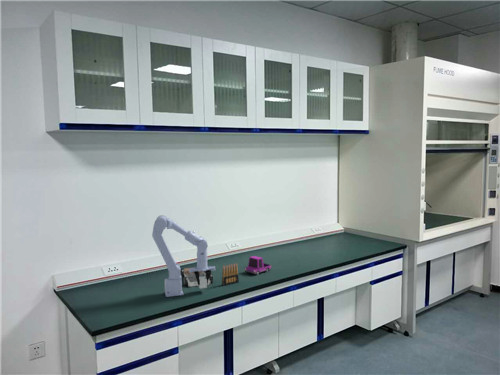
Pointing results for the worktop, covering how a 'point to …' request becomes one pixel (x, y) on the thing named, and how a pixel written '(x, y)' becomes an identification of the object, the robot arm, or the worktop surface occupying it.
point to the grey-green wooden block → (202, 282)
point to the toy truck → (257, 265)
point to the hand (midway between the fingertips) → (202, 283)
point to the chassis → (193, 277)
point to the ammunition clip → (230, 275)
